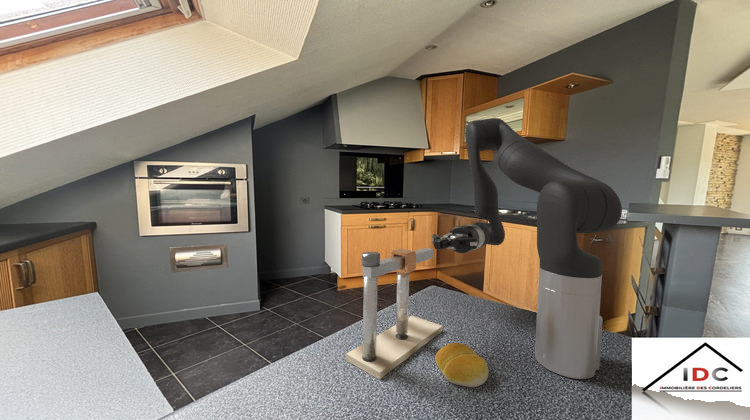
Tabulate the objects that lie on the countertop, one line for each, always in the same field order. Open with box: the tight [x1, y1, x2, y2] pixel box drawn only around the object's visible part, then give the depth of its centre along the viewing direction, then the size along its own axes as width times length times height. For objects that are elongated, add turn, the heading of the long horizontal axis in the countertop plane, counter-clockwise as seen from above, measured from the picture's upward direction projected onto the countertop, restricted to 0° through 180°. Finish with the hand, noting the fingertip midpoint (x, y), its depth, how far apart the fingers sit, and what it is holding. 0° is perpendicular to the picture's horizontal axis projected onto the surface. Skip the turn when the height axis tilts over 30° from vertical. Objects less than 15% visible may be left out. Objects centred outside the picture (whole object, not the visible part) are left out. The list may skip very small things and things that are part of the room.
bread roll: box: [434, 342, 489, 388], centre depth 49 cm, size 8×9×4 cm
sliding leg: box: [390, 248, 417, 336], centre depth 58 cm, size 3×4×17 cm
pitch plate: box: [345, 315, 443, 380], centre depth 58 cm, size 22×8×1 cm, turn 139°
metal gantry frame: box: [361, 247, 435, 361], centre depth 57 cm, size 22×3×19 cm, turn 139°
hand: (437, 244), depth 68 cm, fingers closed
